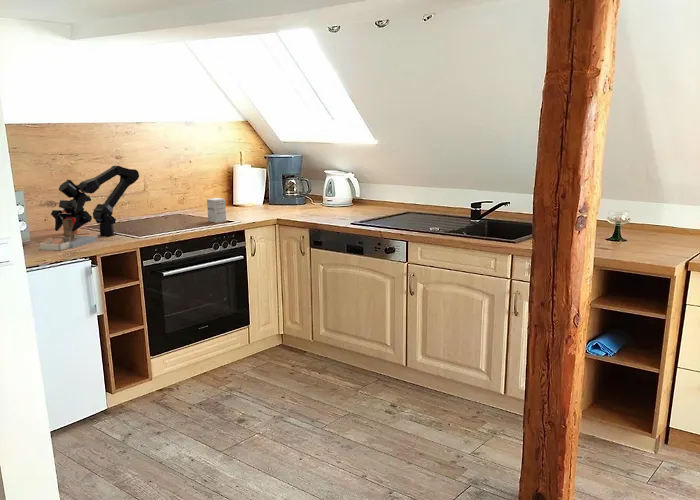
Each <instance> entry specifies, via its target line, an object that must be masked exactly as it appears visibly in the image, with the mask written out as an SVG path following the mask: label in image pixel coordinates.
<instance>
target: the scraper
mask: <svg viewBox="0 0 700 500" xmlns="http://www.w3.org/2000/svg"><path fill="white" fill-rule="evenodd" d="M62 222H63V225H62V227H63V236H53V237H52V241H53V240H54V239H55V238H63V240H64V241H65V242H71V241H74V240H77V238H75V237H74V236H75V234H74V232H73V231H72V228H73V221H72V219H63V220H62ZM65 242H64V243H65Z"/></svg>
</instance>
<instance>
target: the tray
mask: <svg viewBox="0 0 700 500" xmlns="http://www.w3.org/2000/svg"><path fill="white" fill-rule="evenodd" d="M50 242H51V240H48V241H43V242H41V243H38V247H39V251H45V252H47V251H48V252H63V251H65V250H68V249H71V248H70V243H69V242H65V243H62V244H50Z"/></svg>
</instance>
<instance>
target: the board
mask: <svg viewBox="0 0 700 500" xmlns="http://www.w3.org/2000/svg"><path fill="white" fill-rule="evenodd" d="M74 237H75V238H77V240H74V241H71V242H69V243H70V248H69V249H75V248H78V247H81V246H84V245H87V244H88V245H89V244H91V243H94V242H97V241H98V236H93V235H92V236H90V235H89V236H88V235H74ZM52 242H53V240H52V241H50V244H51V243H52Z"/></svg>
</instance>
